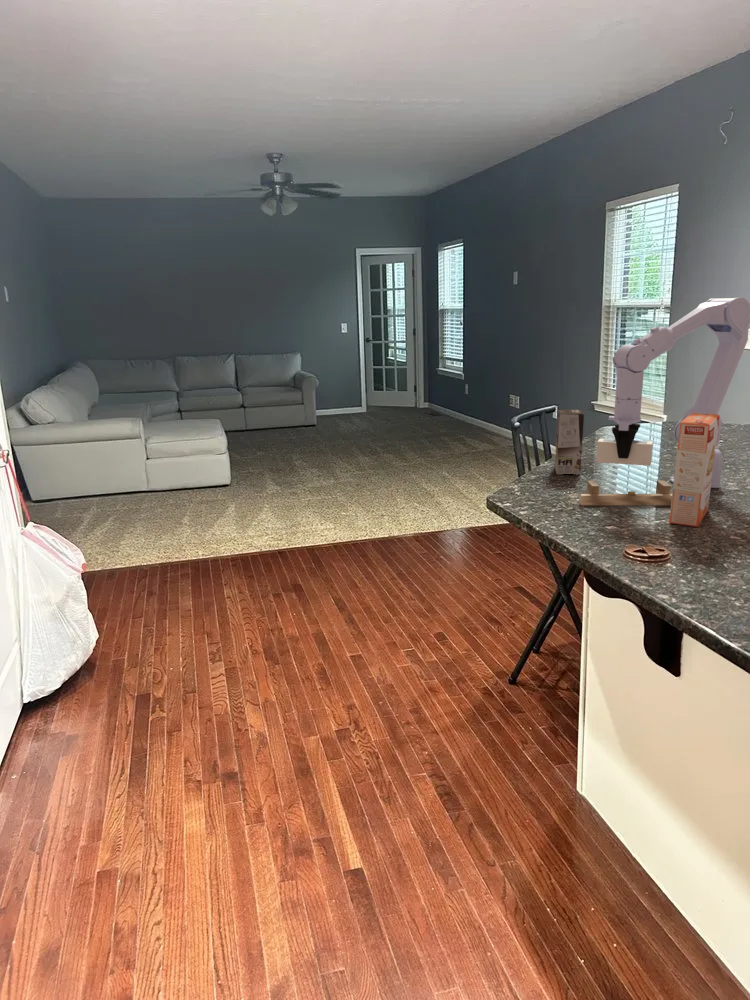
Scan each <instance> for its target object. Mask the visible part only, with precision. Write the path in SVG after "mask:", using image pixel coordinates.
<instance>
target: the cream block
mask: <svg viewBox="0 0 750 1000" xmlns="http://www.w3.org/2000/svg"><path fill="white" fill-rule="evenodd" d="M596 445H597V446H596V463H601V464H602V463H604V464H617V465H632V466H634V465H635V466H646V467H650V466H651V465H652V459H653V449H654V448H653V447H654V441H653V440H652V441H651V440H635V439H634V440H633V442H632V445H631V450H630V454H629V457H628V459H625V458H618V453H617V445H616V440H615V438H599V439H598V440H597V442H596Z"/></svg>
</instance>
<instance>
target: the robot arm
mask: <svg viewBox="0 0 750 1000" xmlns="http://www.w3.org/2000/svg"><path fill="white" fill-rule="evenodd" d="M703 326H707V328H708V329H709V330H710V331H711V332H712V333H713V334H714V335H715V336H716V339H717V340H718V341H719V344H718V346H717V349H716V350H715V354H714V356H713V358H712V360H711V363H710V366H709V368H708V371H707V374H706V375H705V378H704V380H703V383H702V385H701V387H700V391H699V392H698V396H697V398H696V400H695V402H694V404H693V406H692V407H691V408H689V409H687V410H686V411H685V412H683V415H682V417H681V419H680V420H679V421H678V422H676V424H675V425H674V426H675V427H674V429H673V438H674V440H675V441H676V442H677V443H678V435H679V427H680V422H681V421H683V420H684V419H685V418H686V417H687V416H689V415H690V414H691V413H699V414H716V415H719V411H720V408H721V407H722V404H723V401H724V398H725V397H726V394H727V391H728V389H729V387H730V384H731V382H732V379H733V377H734V374H735V372H736V370H737V367H738V365H739V362H740V360H741V359H742V355H743V353H744V350H745V347H746V346H747V343H748V341H749V340H748V339H749V327H750V301H749V300H748V299H746V298H744V297H733V298H731V297H730V298H729V297H727V298H724V297H723V298H718V297H711V298H710V299H707V300H706V301H705V302H701V303H699V304H698V306H697V307H696V308H694V309H693V310H692V311H690V312H689V313H687V314H685V315H684V316H683V317H681V318H680V319H679V320H677V321H676V322H674V323H673V324H671V325H669V326H667V327H665V326H654V327H651V328H650V332H648V333H647V334H645V335H643V336H642V337H640V338H634V339H633V340H632V343H631V344H624V345H622V346H620V347H619V348H618V349H617V350H616V352H615V354H614V356H613V357H612V364H613V365H614V367H615V370H616V371H615V372H616V373H615V375H616V384H615V398H614V399H615V401H614V413H613V415H609V416H608V421H614V422H615V423H616V424H614V426H613V427H612V428H611V432H612V434H613V437H614V439H615V440H616V445H617V453H618V458H625V459H628V457H629V454H630V450H631V445H632V442H633V440H635V438H636V435H637V433H638V432H639V429H640V427H641V424H640V423H641V421H642V418H641V411H642V399H643V398H642V397H643V386H644V385H643V384H644V373H645V372H644V371H645V370H647V369H648V367H649V366H650V364H651V362H652V361H654V360H655V359H656V358H659V357H660V356H661V355H663V354H665V353H667V352H668V351H671V349H673V348H674V346H675V343H676V341H677V340H679V339H680V338H683V337H684V336H686V335H687V334H689V333H692V332H693V331H695V330H697V329H699V328H701V327H703ZM722 427H723V420H722V418H721V416H720V417H719V425H718V433H717V441H716V446H717V445H718V444H719V442H720V439H721V429H722ZM722 466H723V456H722V452H721V450H720V449H718V448H716V449H715V457H714V465H713V474H712V482H711V489H720V488H721V477H722ZM669 481H670V482H671V483H672V484H673V483H674V477H671V478H669Z"/></svg>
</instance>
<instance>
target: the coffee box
mask: <svg viewBox="0 0 750 1000" xmlns="http://www.w3.org/2000/svg"><path fill="white" fill-rule="evenodd" d="M584 420H585V413H584V412H583V410H582V409H581V408H580V409H579V408H578V409H576V408H575V409H573V408H572V409H557V411H556V433H555V435H556V437H555V456H554V458H555V459H554V469H555V473H556V475H563V474H574V475H573V476H581V468H582V467H581V466H582V454H583V453H582V452H583V436H584V435H583V434H584V422H585V421H584ZM575 474H576V475H575ZM578 474H579V475H578Z"/></svg>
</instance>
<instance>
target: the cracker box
mask: <svg viewBox="0 0 750 1000" xmlns="http://www.w3.org/2000/svg"><path fill="white" fill-rule="evenodd" d="M719 417H720V418H721V416H720V415H719V414H718V415H716V414H699V413H691V414H690V415H689V416H687V417H686V418H685V419H684V420H683V421H681V422H680V427H679V435H678V442H677V447H676V456H675V457H676V458H675V466H674V476H673V478H674V483H673V482H672V484H673V485H672V493H671V494H672V501H671V505H670V513H669V524H674V525H680V526H686V527H687V526H688V527H695V528H699V526H700V524H701V522H702V521H703V519H704V517H705V515H706V514H708V513H707V512H708V511H709V506H710V505H709V503H710V496H711V490H712V488H711V482H712V474H713V465H714V457H715V449H717V447H716V446H717V445H716V441H717V433H718V425H719Z"/></svg>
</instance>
